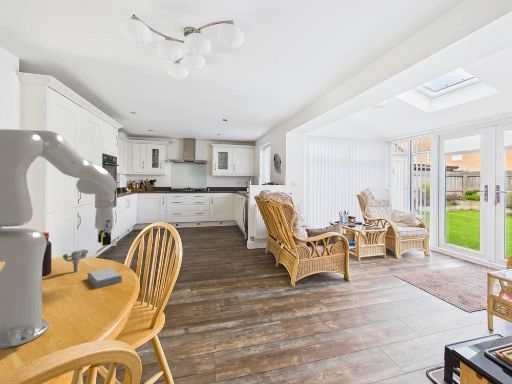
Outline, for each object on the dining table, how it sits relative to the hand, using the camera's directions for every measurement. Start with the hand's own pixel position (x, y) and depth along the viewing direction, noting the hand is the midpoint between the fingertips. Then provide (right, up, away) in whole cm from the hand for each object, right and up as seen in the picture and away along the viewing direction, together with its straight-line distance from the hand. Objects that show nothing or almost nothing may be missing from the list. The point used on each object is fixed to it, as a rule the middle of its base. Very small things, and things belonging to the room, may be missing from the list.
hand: (104, 243), depth 109 cm
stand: (0, -17, +1) cm, 17 cm away
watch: (0, -1, 0) cm, 1 cm away
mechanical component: (-21, -17, +10) cm, 28 cm away
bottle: (-33, -16, +5) cm, 37 cm away
